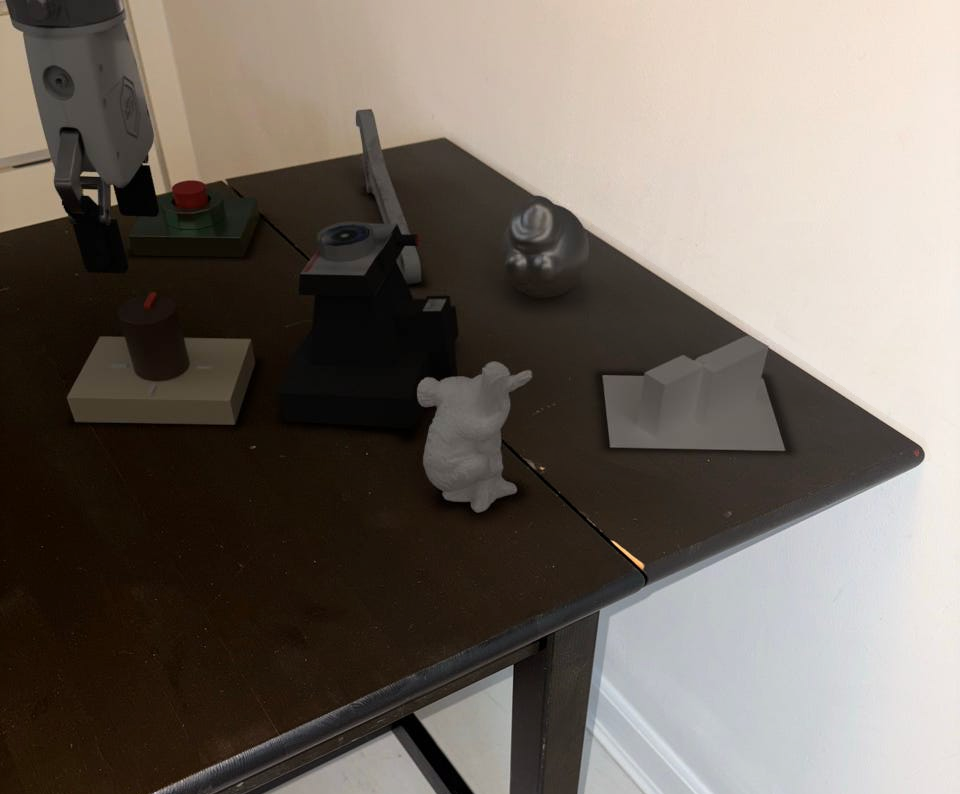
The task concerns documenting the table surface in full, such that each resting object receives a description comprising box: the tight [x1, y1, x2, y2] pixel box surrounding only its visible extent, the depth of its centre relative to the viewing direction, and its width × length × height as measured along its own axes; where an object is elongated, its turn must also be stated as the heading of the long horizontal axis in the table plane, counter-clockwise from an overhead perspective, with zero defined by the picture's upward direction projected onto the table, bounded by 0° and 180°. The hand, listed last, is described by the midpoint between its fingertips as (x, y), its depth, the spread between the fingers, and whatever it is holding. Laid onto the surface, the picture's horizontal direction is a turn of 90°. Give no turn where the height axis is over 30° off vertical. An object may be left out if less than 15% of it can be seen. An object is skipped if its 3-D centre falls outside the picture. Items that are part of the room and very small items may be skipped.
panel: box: [66, 336, 256, 426], centre depth 88 cm, size 14×10×3 cm
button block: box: [128, 187, 261, 258], centre depth 109 cm, size 12×10×4 cm
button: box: [171, 179, 209, 208], centre depth 107 cm, size 4×4×2 cm
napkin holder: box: [602, 334, 786, 452], centre depth 85 cm, size 15×11×6 cm
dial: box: [117, 291, 190, 381], centre depth 85 cm, size 5×5×6 cm
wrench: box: [355, 108, 422, 285], centre depth 110 cm, size 8×2×30 cm
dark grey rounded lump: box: [500, 195, 590, 299], centre depth 98 cm, size 9×10×10 cm
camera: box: [276, 220, 460, 429], centre depth 85 cm, size 16×14×15 cm
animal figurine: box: [417, 361, 533, 514], centre depth 75 cm, size 8×7×12 cm
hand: (124, 241), depth 79 cm, fingers open, 9 cm apart
